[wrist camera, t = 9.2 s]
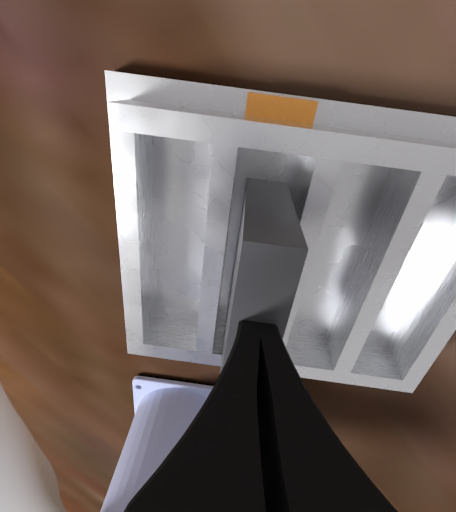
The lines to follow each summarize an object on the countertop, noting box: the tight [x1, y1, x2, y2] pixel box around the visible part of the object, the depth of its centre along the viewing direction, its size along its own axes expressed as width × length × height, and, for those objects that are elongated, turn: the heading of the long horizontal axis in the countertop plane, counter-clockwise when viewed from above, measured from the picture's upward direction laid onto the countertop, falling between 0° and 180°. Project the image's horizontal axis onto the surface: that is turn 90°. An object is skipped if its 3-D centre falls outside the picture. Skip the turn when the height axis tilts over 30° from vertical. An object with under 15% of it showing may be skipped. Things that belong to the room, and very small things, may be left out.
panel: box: [220, 178, 308, 373], centre depth 14 cm, size 9×2×7 cm, turn 174°
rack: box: [105, 70, 456, 393], centre depth 16 cm, size 16×20×4 cm
